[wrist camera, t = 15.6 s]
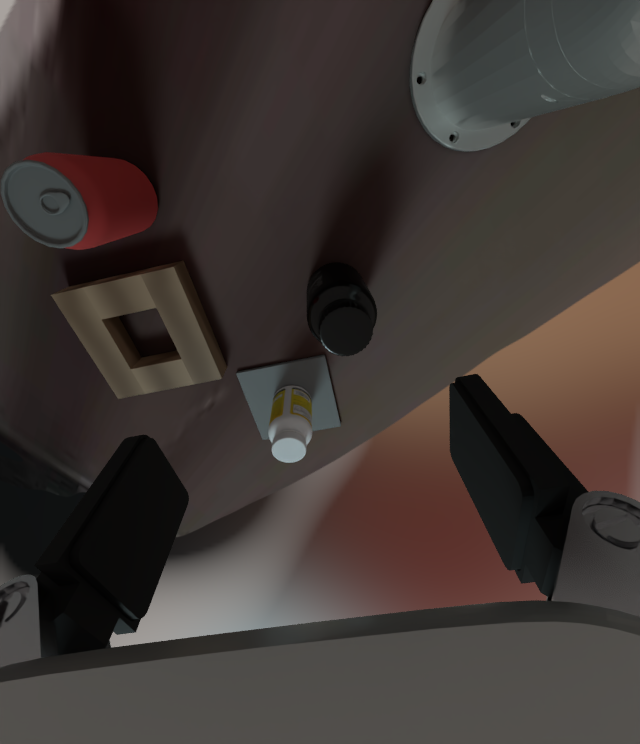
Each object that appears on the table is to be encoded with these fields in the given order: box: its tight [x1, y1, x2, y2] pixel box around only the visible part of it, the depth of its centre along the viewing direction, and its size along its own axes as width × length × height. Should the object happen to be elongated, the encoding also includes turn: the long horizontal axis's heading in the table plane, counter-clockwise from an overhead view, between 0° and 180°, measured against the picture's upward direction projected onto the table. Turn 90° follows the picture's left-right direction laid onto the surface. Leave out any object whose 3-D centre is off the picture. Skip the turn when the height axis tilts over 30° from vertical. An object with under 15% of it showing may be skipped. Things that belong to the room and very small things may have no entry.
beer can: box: [1, 152, 158, 250], centre depth 28 cm, size 7×7×12 cm
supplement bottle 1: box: [268, 385, 312, 463], centre depth 42 cm, size 5×5×10 cm
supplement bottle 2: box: [307, 263, 377, 356], centre depth 34 cm, size 7×7×12 cm
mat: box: [236, 355, 341, 440], centre depth 46 cm, size 12×12×1 cm
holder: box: [51, 261, 227, 399], centre depth 39 cm, size 14×14×3 cm
